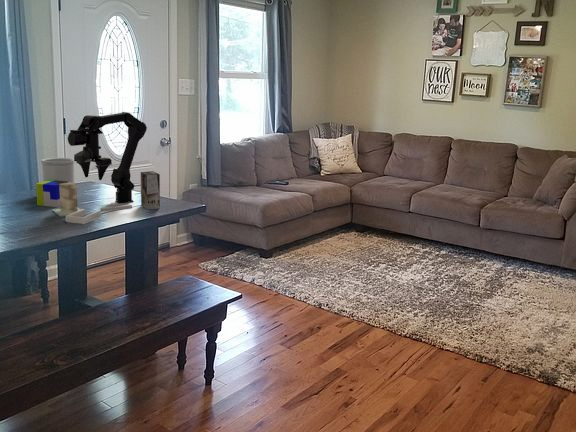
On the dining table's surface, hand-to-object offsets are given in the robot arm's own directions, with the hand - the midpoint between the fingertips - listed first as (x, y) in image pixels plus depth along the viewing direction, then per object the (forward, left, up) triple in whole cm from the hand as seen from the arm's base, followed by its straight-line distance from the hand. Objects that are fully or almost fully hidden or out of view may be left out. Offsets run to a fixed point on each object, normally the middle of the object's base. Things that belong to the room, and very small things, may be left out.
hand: (93, 178), depth 268 cm
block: (+13, +5, -12) cm, 19 cm away
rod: (-7, +9, -13) cm, 18 cm away
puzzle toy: (+14, -14, -13) cm, 24 cm away
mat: (+13, +5, -13) cm, 19 cm away
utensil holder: (+6, -31, -13) cm, 34 cm away
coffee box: (-22, +12, -13) cm, 28 cm away
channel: (+12, +19, -13) cm, 26 cm away
